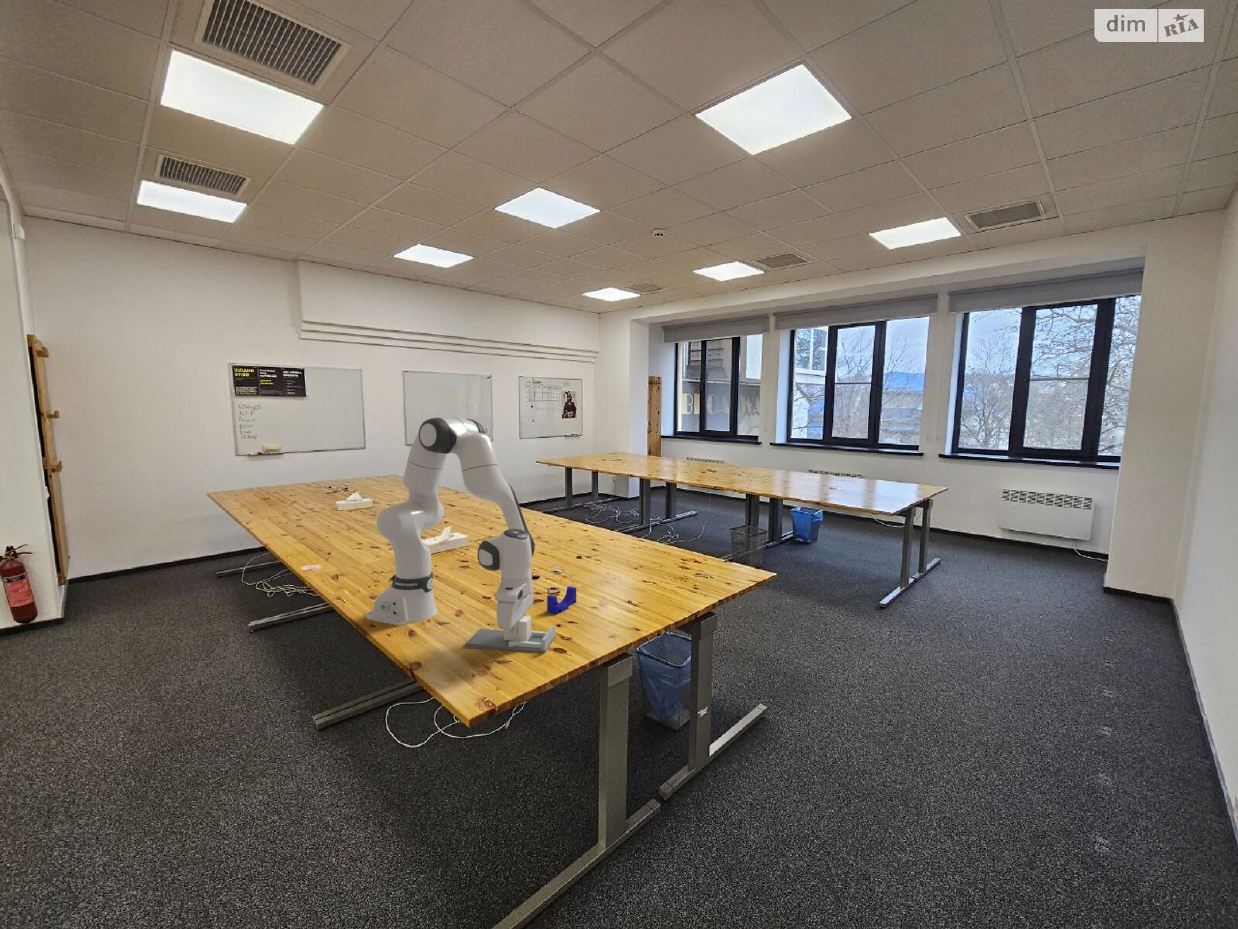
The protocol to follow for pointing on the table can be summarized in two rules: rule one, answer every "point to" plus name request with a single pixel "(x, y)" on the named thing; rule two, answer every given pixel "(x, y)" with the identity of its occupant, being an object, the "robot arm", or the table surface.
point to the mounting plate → (496, 641)
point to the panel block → (520, 630)
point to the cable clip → (564, 604)
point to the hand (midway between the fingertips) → (517, 631)
